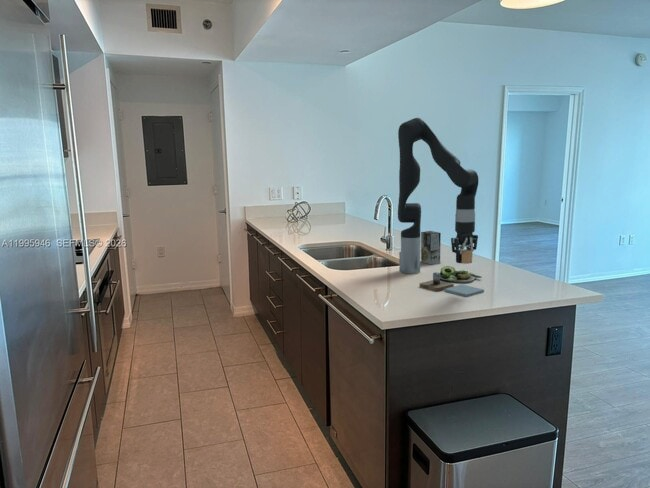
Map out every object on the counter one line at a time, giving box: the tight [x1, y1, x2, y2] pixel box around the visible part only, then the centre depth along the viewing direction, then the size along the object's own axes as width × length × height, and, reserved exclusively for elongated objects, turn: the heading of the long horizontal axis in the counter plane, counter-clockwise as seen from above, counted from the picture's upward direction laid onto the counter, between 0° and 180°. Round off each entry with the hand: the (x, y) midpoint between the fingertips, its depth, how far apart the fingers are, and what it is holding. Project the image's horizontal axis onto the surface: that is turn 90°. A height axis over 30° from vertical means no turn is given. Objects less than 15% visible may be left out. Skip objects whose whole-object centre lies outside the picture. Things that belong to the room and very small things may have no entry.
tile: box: [444, 283, 485, 298], centre depth 193 cm, size 11×11×1 cm
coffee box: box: [420, 230, 441, 265], centre depth 248 cm, size 9×6×16 cm
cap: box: [459, 248, 473, 265], centre depth 190 cm, size 6×6×5 cm
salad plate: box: [439, 265, 483, 284], centre depth 215 cm, size 19×18×5 cm
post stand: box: [419, 272, 455, 292], centre depth 201 cm, size 10×10×6 cm
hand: (464, 261), depth 191 cm, fingers closed on cap, 5 cm apart
